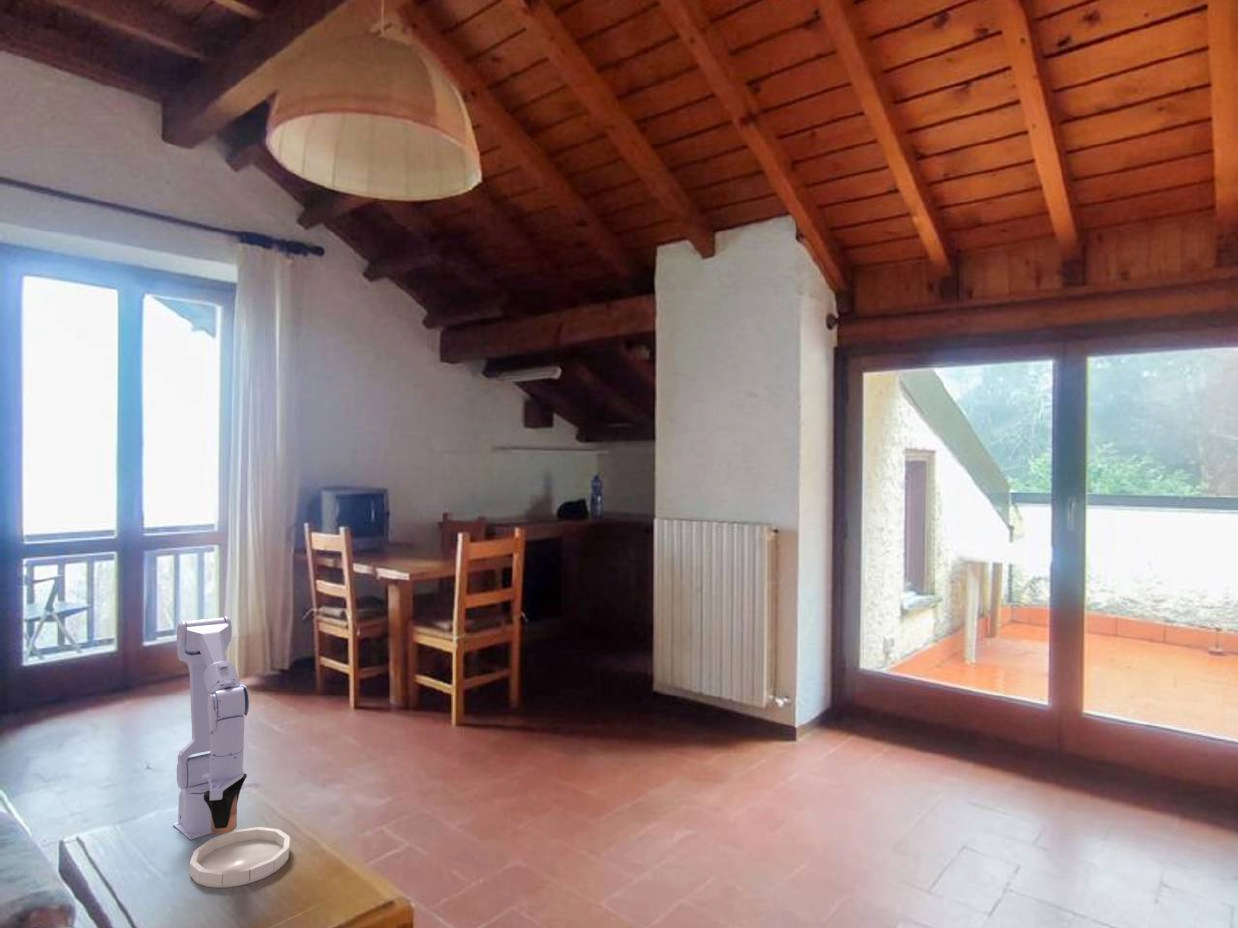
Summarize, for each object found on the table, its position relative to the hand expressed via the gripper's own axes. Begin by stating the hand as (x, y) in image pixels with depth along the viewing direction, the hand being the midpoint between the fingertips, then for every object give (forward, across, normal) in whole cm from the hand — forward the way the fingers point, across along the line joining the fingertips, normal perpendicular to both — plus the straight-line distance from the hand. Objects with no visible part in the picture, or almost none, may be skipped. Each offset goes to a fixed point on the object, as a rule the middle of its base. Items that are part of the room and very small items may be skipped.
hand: (224, 820), depth 141 cm
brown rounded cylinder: (+2, 0, 0) cm, 2 cm away
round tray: (+8, 0, +3) cm, 9 cm away
